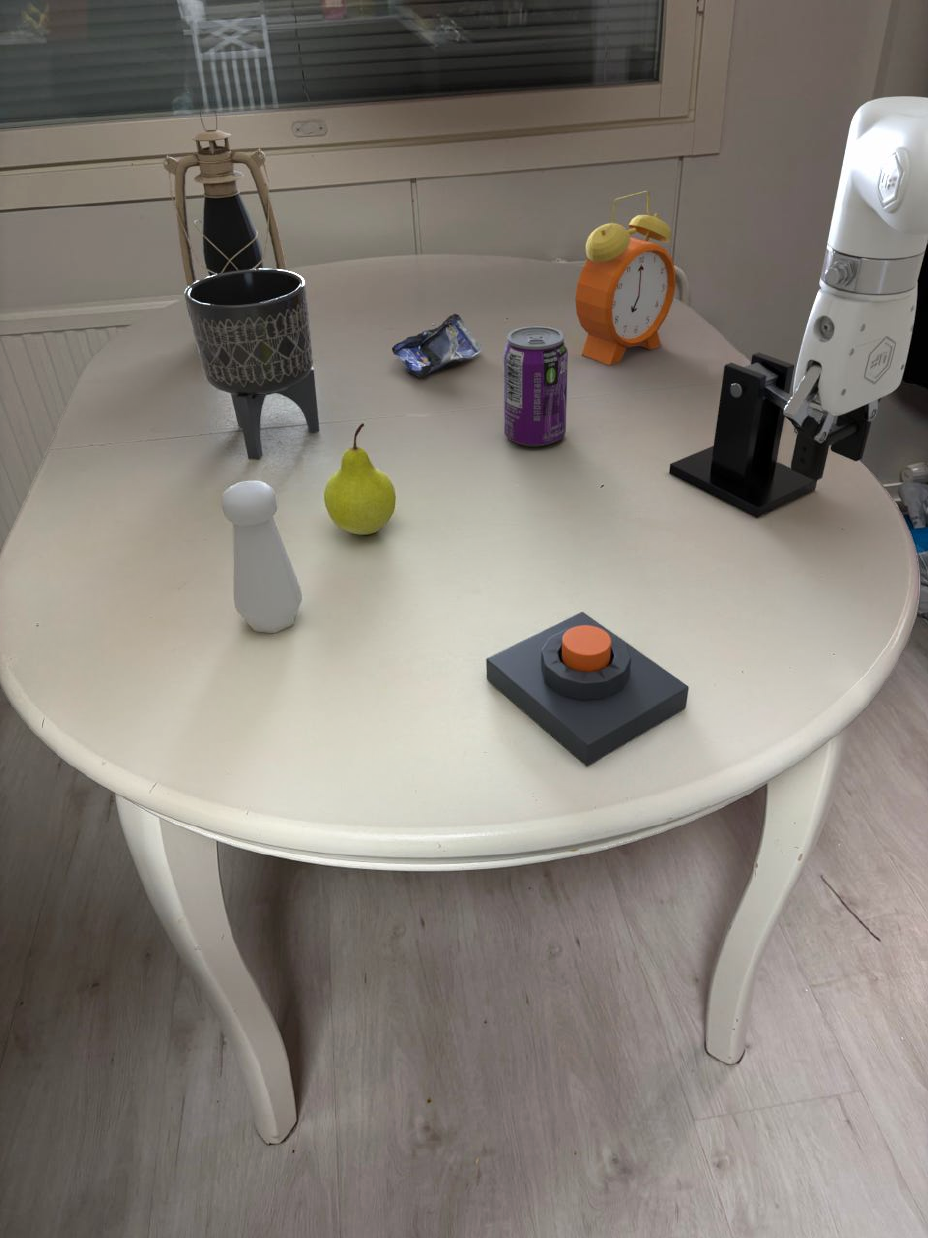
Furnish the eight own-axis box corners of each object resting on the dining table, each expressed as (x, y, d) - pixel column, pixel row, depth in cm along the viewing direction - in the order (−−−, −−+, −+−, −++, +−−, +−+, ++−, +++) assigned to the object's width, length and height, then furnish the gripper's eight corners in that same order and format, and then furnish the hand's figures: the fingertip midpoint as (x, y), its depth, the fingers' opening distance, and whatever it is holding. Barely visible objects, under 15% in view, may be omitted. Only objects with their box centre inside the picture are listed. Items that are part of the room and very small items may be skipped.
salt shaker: (249, 647, 78) (219, 514, 70) (231, 612, 82) (200, 483, 74) (315, 626, 80) (292, 494, 72) (293, 593, 84) (270, 465, 76)
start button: (619, 660, 69) (621, 642, 68) (583, 679, 68) (584, 661, 67) (587, 637, 72) (588, 619, 71) (552, 655, 70) (552, 637, 69)
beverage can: (567, 450, 105) (571, 346, 97) (504, 452, 105) (503, 349, 98) (563, 422, 110) (566, 323, 103) (503, 424, 110) (502, 325, 103)
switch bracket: (815, 490, 95) (841, 371, 88) (756, 518, 91) (778, 396, 84) (726, 449, 103) (742, 336, 96) (668, 473, 99) (680, 358, 92)
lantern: (194, 351, 134) (143, 118, 116) (201, 323, 143) (154, 103, 125) (296, 341, 135) (260, 109, 117) (295, 314, 144) (263, 96, 126)
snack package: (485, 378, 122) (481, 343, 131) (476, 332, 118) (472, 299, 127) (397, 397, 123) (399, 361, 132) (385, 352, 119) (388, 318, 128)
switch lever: (854, 441, 87) (864, 419, 85) (820, 457, 85) (829, 435, 83) (759, 379, 93) (766, 358, 92) (725, 392, 91) (732, 371, 89)
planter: (305, 466, 104) (280, 308, 93) (198, 459, 106) (162, 304, 96) (340, 416, 114) (321, 269, 103) (241, 411, 116) (213, 266, 106)
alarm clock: (604, 369, 122) (613, 209, 110) (572, 357, 126) (577, 200, 114) (671, 343, 129) (687, 189, 117) (638, 332, 133) (650, 181, 121)
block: (686, 708, 70) (692, 668, 68) (586, 767, 66) (589, 726, 63) (581, 631, 78) (583, 593, 76) (486, 679, 74) (485, 640, 71)
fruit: (316, 527, 93) (299, 416, 86) (373, 504, 96) (361, 396, 89) (353, 555, 89) (337, 441, 82) (411, 531, 92) (401, 419, 85)
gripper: (843, 304, 70) (799, 510, 81) (971, 257, 78) (915, 452, 89) (765, 280, 75) (733, 477, 86) (893, 239, 83) (848, 425, 94)
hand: (826, 463), depth 88 cm, fingers closed on switch lever, 5 cm apart
